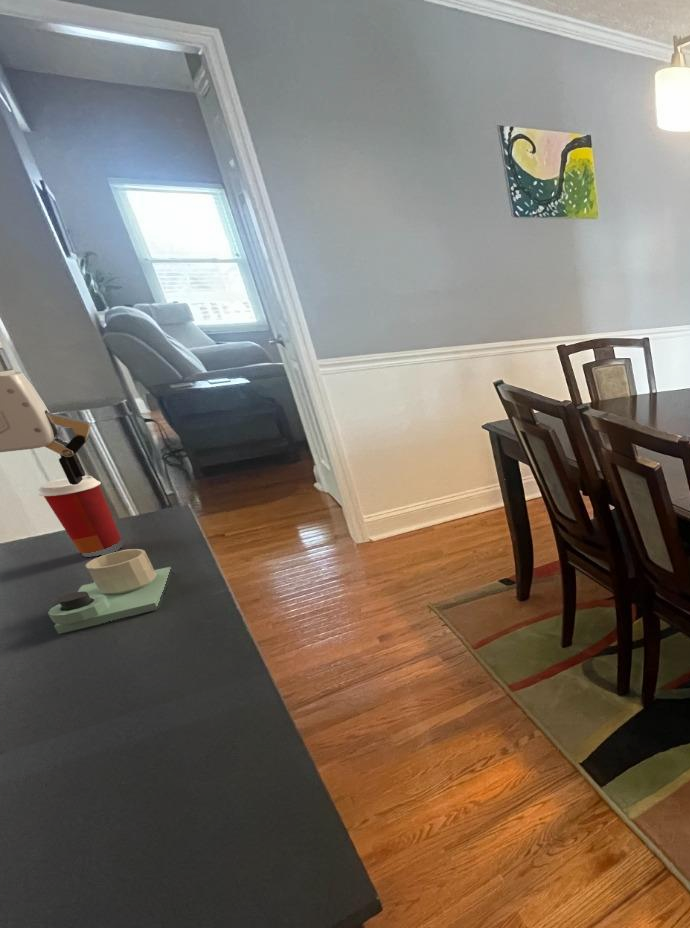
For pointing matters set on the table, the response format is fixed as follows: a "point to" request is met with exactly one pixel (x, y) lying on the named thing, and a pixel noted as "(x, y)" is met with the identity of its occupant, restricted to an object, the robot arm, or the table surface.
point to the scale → (109, 605)
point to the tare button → (75, 601)
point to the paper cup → (82, 513)
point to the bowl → (121, 571)
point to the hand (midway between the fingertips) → (29, 488)
